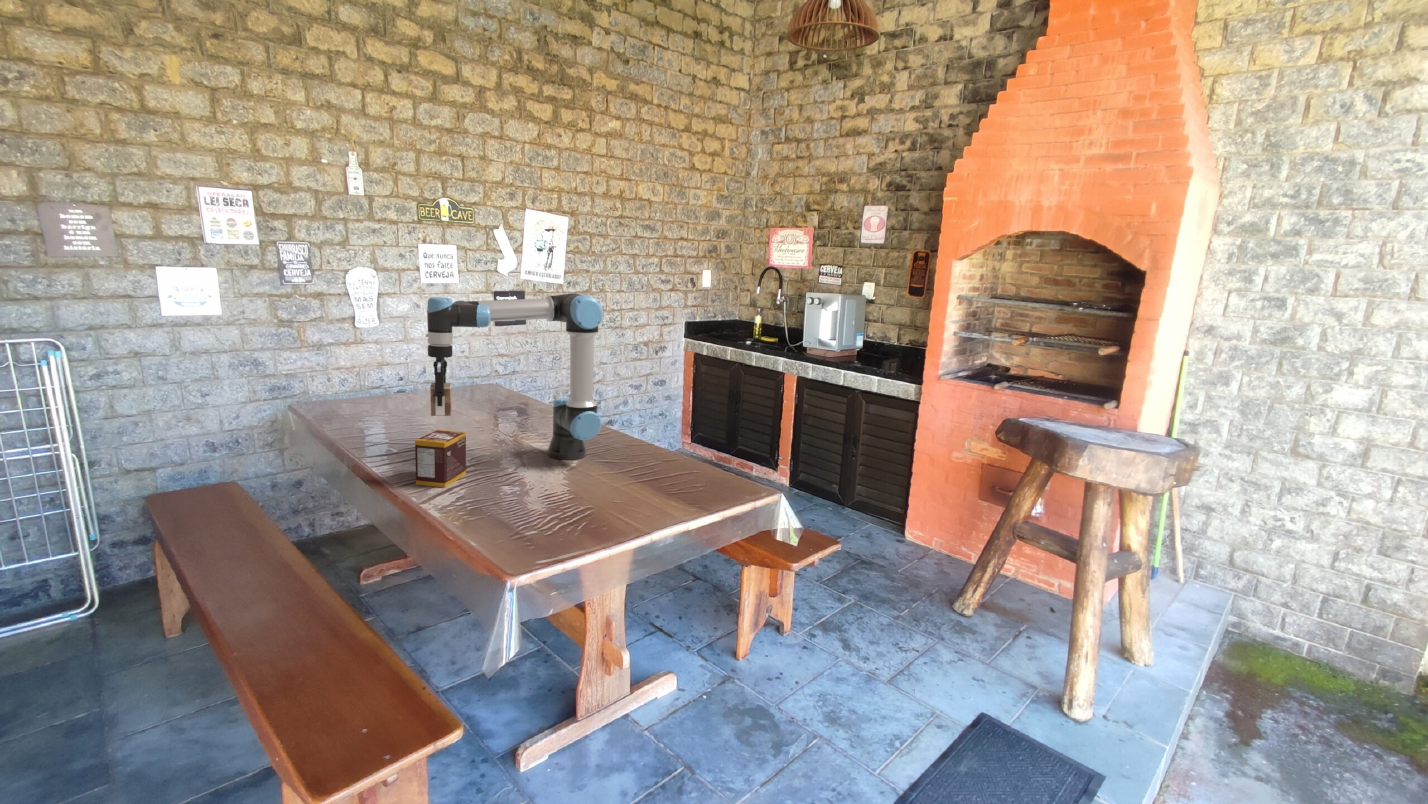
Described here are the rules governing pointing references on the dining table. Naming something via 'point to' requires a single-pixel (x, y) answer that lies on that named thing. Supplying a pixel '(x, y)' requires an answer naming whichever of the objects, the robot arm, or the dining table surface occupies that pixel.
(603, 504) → the dining table surface
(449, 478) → the supplement box
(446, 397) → the walnut block
